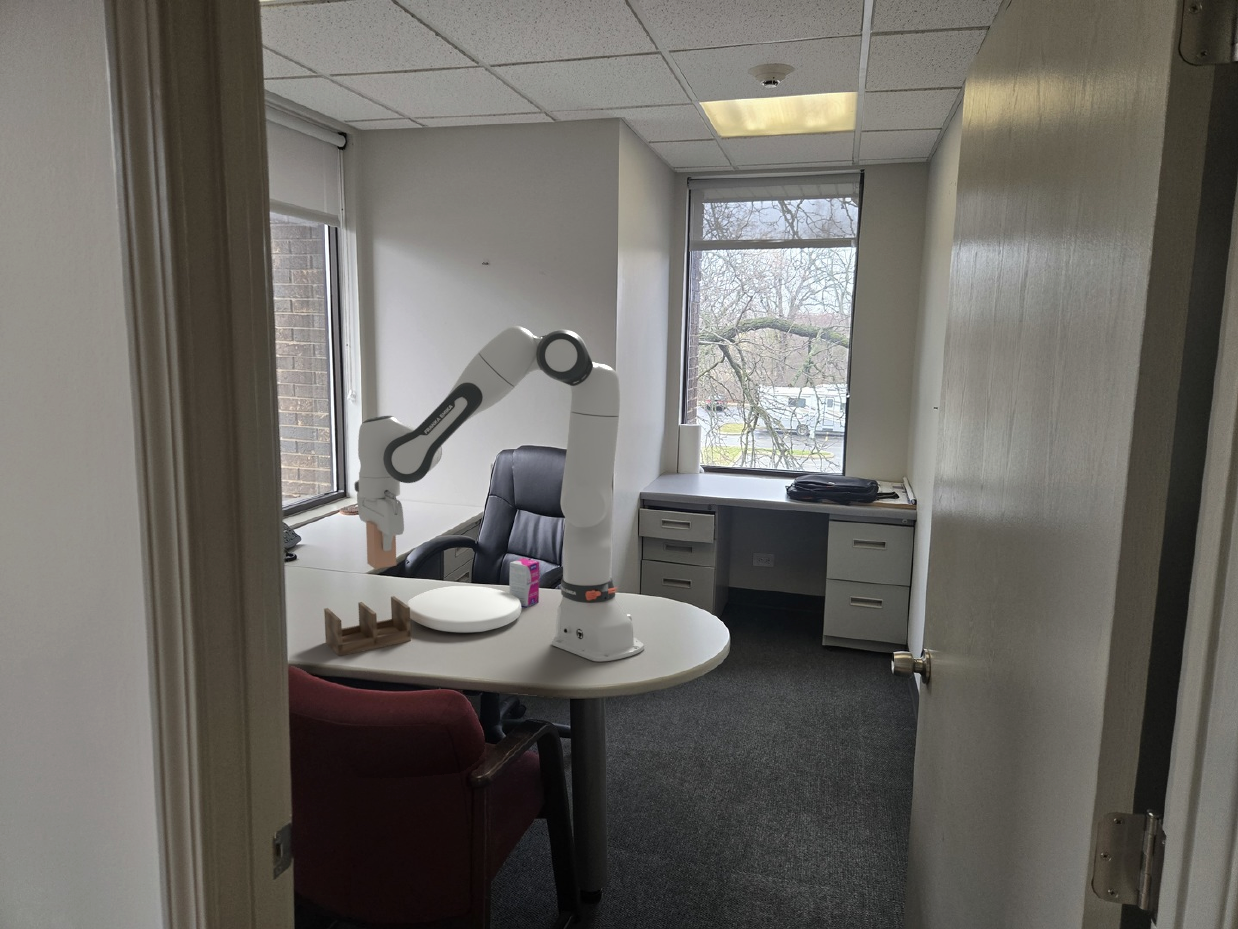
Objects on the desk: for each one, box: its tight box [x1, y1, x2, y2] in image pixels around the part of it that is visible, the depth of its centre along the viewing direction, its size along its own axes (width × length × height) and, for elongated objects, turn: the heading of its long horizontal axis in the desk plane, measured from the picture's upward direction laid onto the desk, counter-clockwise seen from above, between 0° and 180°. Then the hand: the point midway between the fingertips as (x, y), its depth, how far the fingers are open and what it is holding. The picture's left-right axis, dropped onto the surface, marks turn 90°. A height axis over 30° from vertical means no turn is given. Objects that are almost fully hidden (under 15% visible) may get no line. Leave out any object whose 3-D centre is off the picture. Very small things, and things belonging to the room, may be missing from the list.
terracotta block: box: [365, 521, 397, 569], centre depth 187 cm, size 5×5×10 cm
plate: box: [406, 585, 522, 633], centre depth 204 cm, size 28×6×27 cm
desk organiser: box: [323, 595, 412, 657], centre depth 187 cm, size 10×16×8 cm, turn 126°
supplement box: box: [508, 557, 540, 609], centre depth 215 cm, size 6×6×12 cm
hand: (381, 547), depth 187 cm, fingers closed on terracotta block, 5 cm apart
